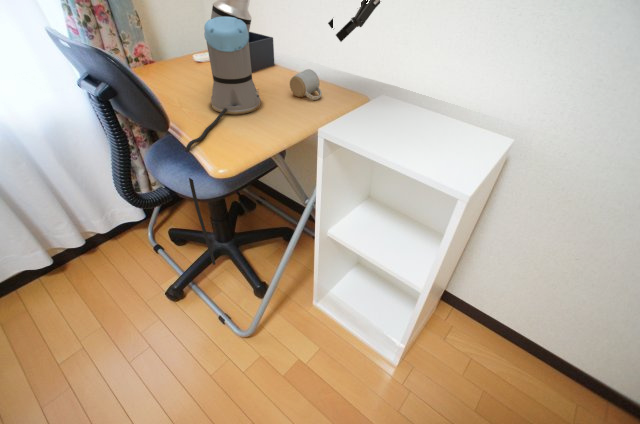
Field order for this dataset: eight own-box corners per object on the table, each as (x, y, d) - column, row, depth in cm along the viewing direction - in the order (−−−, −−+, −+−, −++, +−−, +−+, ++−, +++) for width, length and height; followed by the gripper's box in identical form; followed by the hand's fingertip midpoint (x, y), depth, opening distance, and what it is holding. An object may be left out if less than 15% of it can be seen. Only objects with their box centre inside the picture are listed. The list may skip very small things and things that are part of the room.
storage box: (252, 72, 123) (249, 43, 115) (229, 65, 128) (225, 36, 121) (274, 65, 131) (273, 37, 124) (252, 58, 136) (249, 31, 129)
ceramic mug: (288, 94, 107) (287, 71, 102) (302, 88, 112) (303, 66, 107) (312, 103, 103) (313, 80, 98) (326, 96, 108) (327, 74, 103)
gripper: (404, 1, 92) (348, 53, 100) (379, -15, 109) (333, 30, 117) (392, -23, 87) (334, 34, 95) (368, -36, 104) (321, 13, 112)
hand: (334, 32), depth 106 cm, fingers open, 13 cm apart
